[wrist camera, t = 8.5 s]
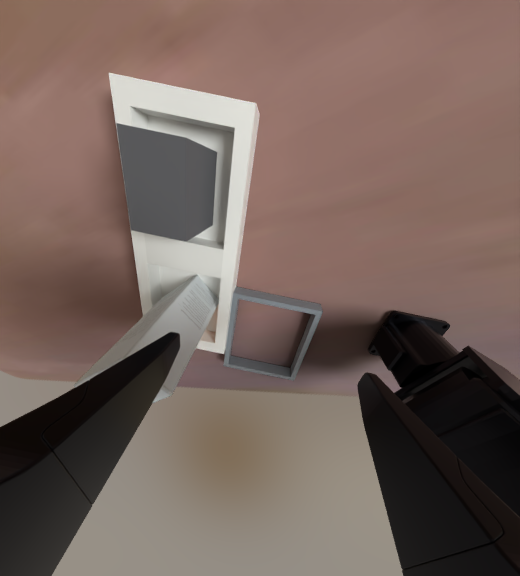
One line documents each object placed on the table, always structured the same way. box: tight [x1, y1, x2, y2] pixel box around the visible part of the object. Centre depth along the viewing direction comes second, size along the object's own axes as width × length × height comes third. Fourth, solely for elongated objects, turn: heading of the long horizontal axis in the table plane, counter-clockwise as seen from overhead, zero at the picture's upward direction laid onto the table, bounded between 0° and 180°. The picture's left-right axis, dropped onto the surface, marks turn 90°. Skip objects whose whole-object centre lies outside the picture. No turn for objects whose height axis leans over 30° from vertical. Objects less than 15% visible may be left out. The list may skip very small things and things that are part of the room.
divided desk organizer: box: [109, 73, 260, 354], centre depth 20 cm, size 10×24×2 cm, turn 170°
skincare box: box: [74, 275, 219, 403], centre depth 18 cm, size 6×4×12 cm
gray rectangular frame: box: [224, 287, 323, 381], centre depth 25 cm, size 10×12×2 cm
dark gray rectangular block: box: [116, 123, 217, 242], centre depth 15 cm, size 4×6×6 cm, turn 170°
